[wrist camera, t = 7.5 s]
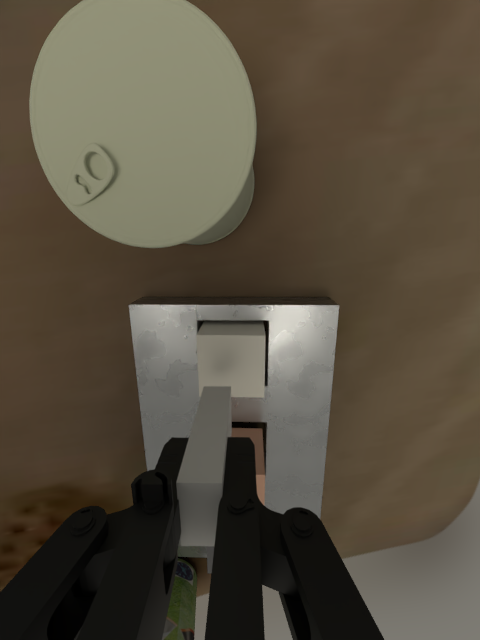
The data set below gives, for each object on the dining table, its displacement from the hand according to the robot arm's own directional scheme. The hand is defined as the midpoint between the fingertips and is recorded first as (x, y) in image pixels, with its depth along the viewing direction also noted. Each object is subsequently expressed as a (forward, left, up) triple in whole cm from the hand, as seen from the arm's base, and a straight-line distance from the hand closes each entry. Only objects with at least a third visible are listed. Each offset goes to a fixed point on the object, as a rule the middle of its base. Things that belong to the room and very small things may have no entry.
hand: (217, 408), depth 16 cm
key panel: (0, -9, -10) cm, 14 cm away
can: (-3, +13, -11) cm, 17 cm away
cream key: (0, 0, -10) cm, 10 cm away
